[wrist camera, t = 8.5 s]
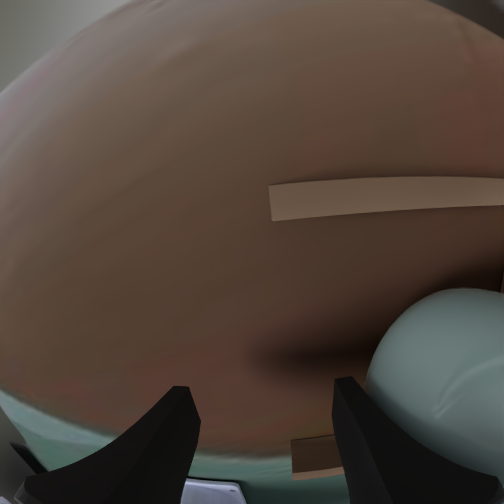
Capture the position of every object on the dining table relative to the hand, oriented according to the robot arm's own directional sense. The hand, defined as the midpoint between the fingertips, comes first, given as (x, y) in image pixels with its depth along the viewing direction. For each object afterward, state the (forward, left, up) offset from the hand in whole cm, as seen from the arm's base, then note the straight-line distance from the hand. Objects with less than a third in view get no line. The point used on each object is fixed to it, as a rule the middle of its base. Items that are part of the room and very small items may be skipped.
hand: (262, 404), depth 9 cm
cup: (0, -6, -2) cm, 7 cm away
